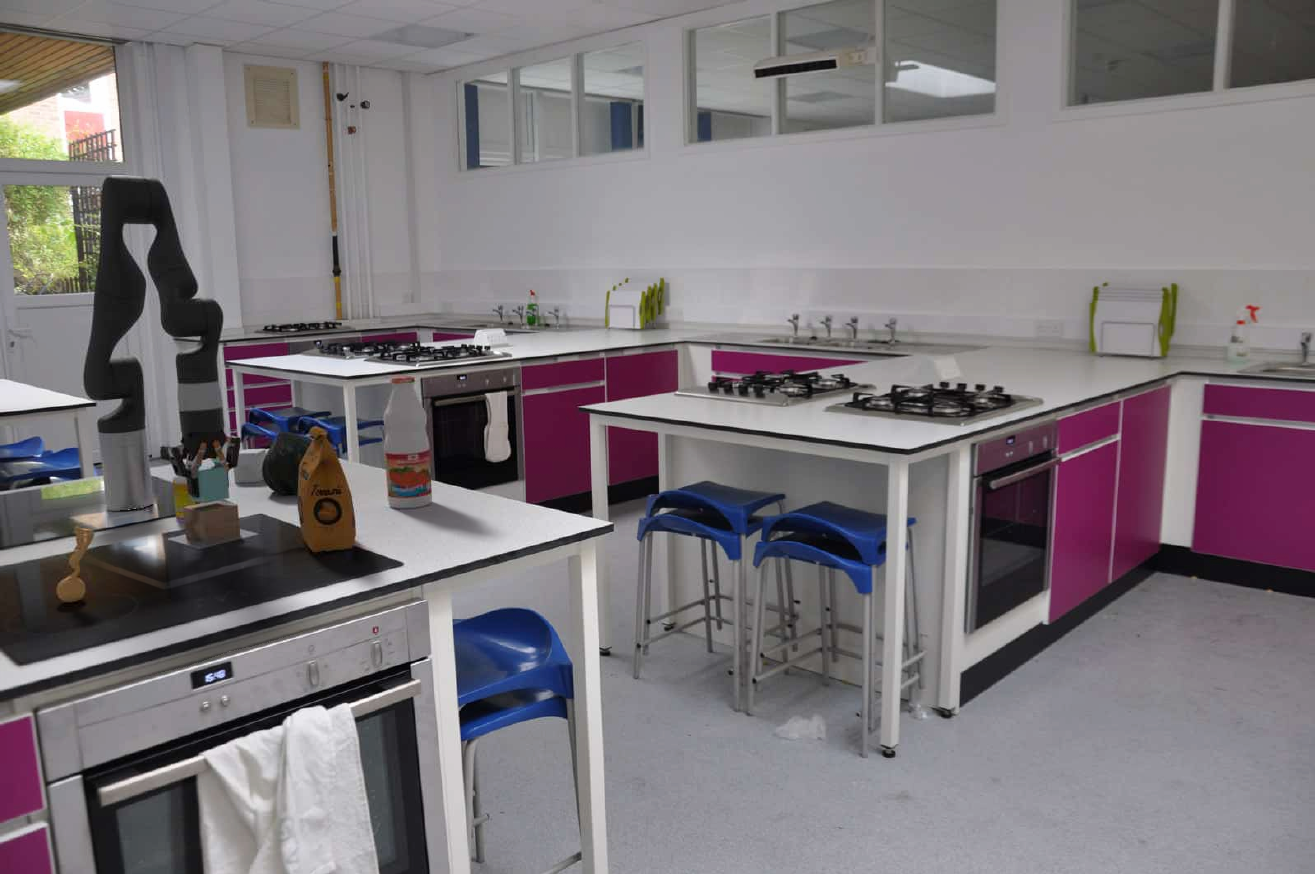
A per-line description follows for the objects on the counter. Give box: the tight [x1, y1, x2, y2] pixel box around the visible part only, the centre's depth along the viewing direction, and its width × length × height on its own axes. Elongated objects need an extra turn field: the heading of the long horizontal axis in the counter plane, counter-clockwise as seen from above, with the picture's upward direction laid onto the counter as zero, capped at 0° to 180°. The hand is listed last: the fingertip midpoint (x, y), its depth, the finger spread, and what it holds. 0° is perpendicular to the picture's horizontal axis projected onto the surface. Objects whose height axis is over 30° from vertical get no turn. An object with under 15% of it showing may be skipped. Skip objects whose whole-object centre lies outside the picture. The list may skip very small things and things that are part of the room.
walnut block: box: [183, 500, 241, 543], centre depth 193 cm, size 7×7×6 cm
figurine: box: [56, 526, 95, 603], centre depth 160 cm, size 8×6×12 cm
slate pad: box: [167, 528, 260, 550], centre depth 194 cm, size 12×12×1 cm
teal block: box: [190, 464, 230, 503], centre depth 192 cm, size 5×5×6 cm
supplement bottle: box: [172, 459, 202, 522], centre depth 208 cm, size 7×7×13 cm
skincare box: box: [232, 448, 267, 484], centre depth 249 cm, size 6×6×7 cm
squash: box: [262, 431, 313, 496], centre depth 235 cm, size 14×15×15 cm
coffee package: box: [297, 425, 357, 553], centre depth 188 cm, size 10×12×22 cm
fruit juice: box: [382, 375, 433, 509], centre depth 219 cm, size 9×9×28 cm
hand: (209, 494), depth 192 cm, fingers closed on teal block, 4 cm apart
